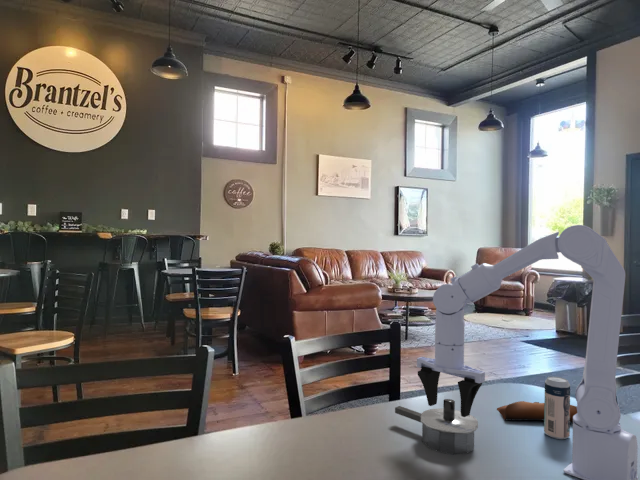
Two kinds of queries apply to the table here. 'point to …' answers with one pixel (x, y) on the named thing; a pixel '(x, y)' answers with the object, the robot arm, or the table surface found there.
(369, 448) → the table surface
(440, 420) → the lid
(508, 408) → the sunglasses case
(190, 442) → the table surface
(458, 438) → the saucepan
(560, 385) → the white labeled canister
